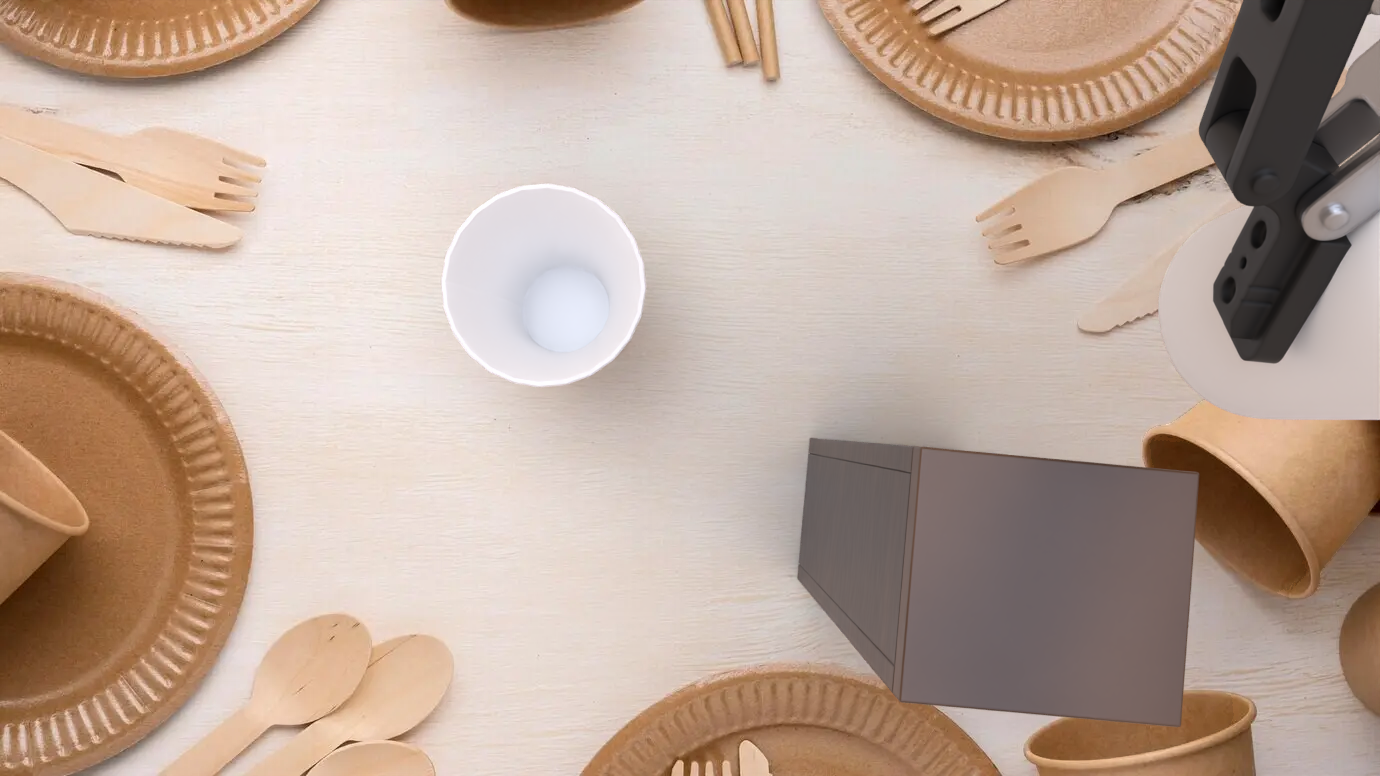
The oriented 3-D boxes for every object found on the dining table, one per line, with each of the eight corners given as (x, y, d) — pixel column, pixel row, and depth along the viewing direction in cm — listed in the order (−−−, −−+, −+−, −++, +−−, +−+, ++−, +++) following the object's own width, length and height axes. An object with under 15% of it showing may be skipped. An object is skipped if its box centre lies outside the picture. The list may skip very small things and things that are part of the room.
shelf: (1184, 471, 39) (1200, 472, 37) (1165, 718, 38) (1181, 728, 37) (913, 445, 38) (920, 446, 37) (891, 694, 38) (899, 703, 37)
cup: (648, 398, 67) (642, 391, 54) (483, 392, 67) (435, 383, 53) (654, 234, 67) (650, 186, 54) (490, 228, 67) (444, 178, 54)
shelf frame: (965, 452, 67) (1184, 471, 39) (953, 593, 67) (1165, 718, 38) (809, 437, 67) (913, 445, 38) (797, 579, 67) (891, 694, 38)
